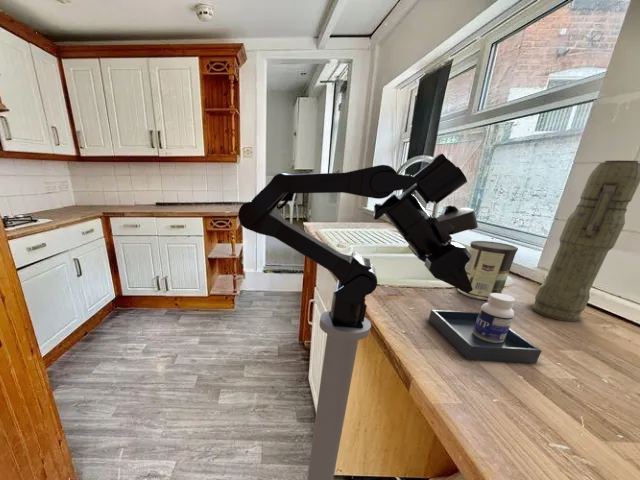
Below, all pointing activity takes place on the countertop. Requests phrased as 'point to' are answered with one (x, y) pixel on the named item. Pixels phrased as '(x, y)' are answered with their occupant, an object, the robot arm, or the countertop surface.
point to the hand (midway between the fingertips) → (460, 282)
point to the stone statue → (587, 239)
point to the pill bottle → (494, 318)
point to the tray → (461, 336)
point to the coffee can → (488, 267)
